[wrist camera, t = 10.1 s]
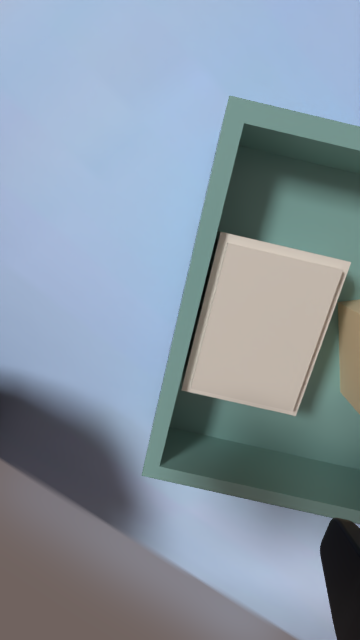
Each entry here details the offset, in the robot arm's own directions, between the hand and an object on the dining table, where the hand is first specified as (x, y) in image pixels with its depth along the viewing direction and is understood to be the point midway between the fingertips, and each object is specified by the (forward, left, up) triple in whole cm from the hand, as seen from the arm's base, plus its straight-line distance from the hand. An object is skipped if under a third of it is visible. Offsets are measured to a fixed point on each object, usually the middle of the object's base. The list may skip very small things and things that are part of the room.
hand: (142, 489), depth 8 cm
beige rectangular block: (+4, +2, -12) cm, 13 cm away
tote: (+8, +2, -13) cm, 15 cm away
